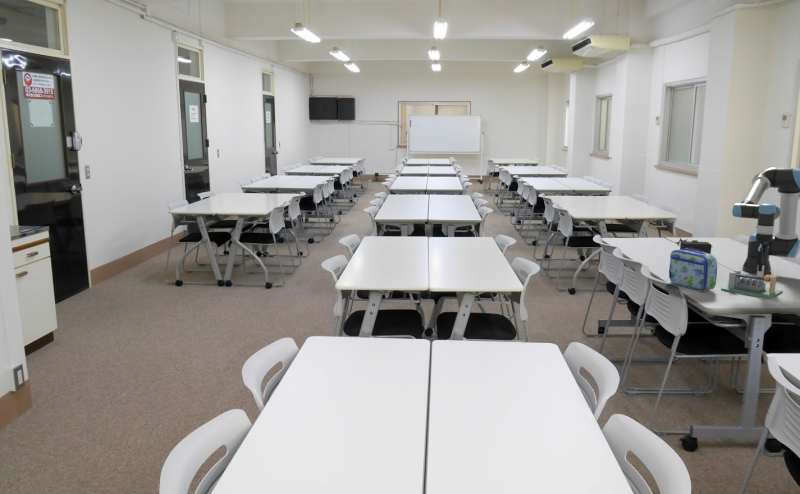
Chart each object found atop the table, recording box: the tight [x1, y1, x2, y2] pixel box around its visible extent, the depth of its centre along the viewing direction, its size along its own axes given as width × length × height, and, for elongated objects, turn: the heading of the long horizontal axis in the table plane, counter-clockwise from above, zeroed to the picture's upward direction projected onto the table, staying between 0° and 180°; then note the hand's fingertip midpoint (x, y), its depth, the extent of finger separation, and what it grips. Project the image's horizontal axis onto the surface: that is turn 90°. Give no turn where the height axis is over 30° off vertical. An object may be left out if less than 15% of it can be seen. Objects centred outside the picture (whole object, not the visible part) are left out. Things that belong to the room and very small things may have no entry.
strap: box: [736, 273, 773, 282], centre depth 321 cm, size 4×16×2 cm, turn 42°
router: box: [679, 239, 713, 255], centre depth 362 cm, size 8×18×20 cm, turn 78°
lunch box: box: [668, 248, 718, 291], centre depth 331 cm, size 26×11×21 cm, turn 21°
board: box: [720, 269, 783, 300], centre depth 322 cm, size 19×24×10 cm
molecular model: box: [674, 236, 689, 247], centre depth 399 cm, size 25×12×16 cm, turn 158°
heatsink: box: [736, 277, 767, 293], centre depth 323 cm, size 10×11×6 cm
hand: (759, 276), depth 319 cm, fingers closed
